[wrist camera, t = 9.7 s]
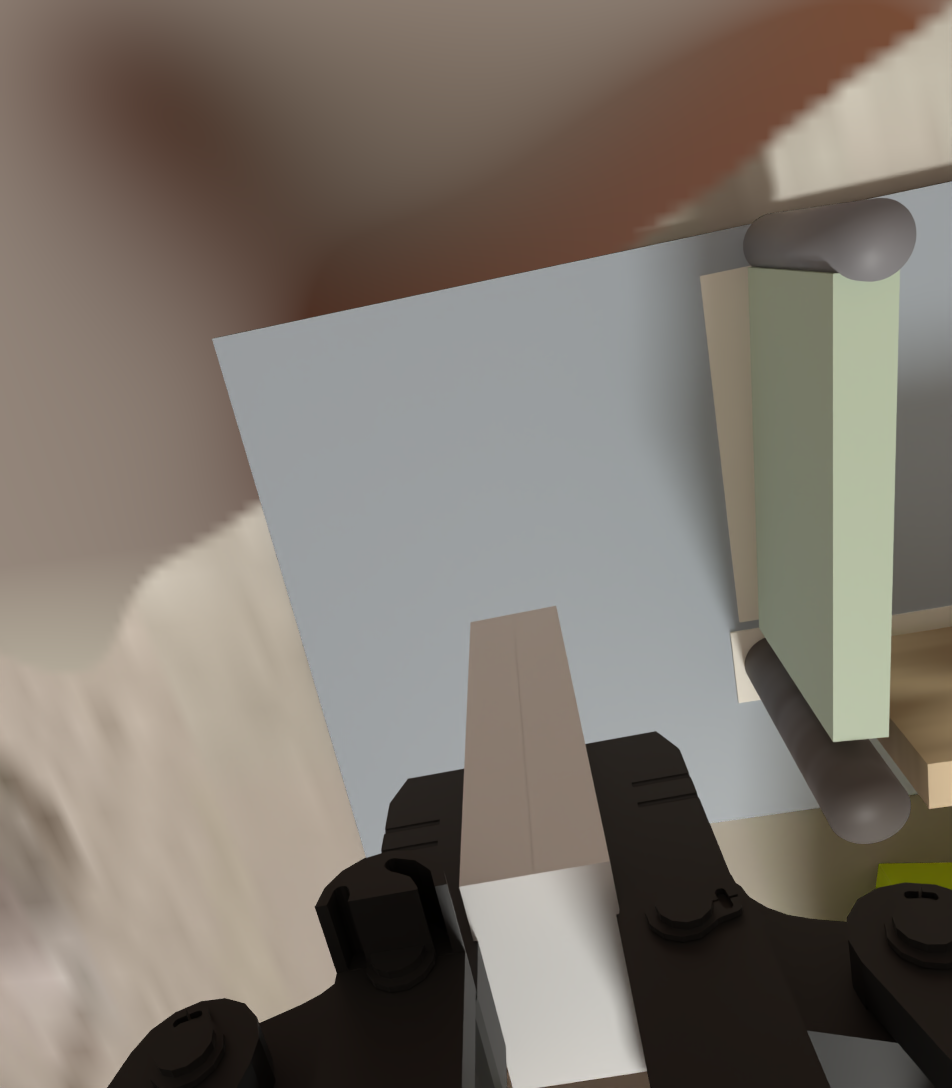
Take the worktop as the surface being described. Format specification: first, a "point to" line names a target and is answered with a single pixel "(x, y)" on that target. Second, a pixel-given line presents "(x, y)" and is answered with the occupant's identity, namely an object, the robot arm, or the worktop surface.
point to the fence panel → (828, 448)
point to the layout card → (563, 501)
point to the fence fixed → (856, 766)
